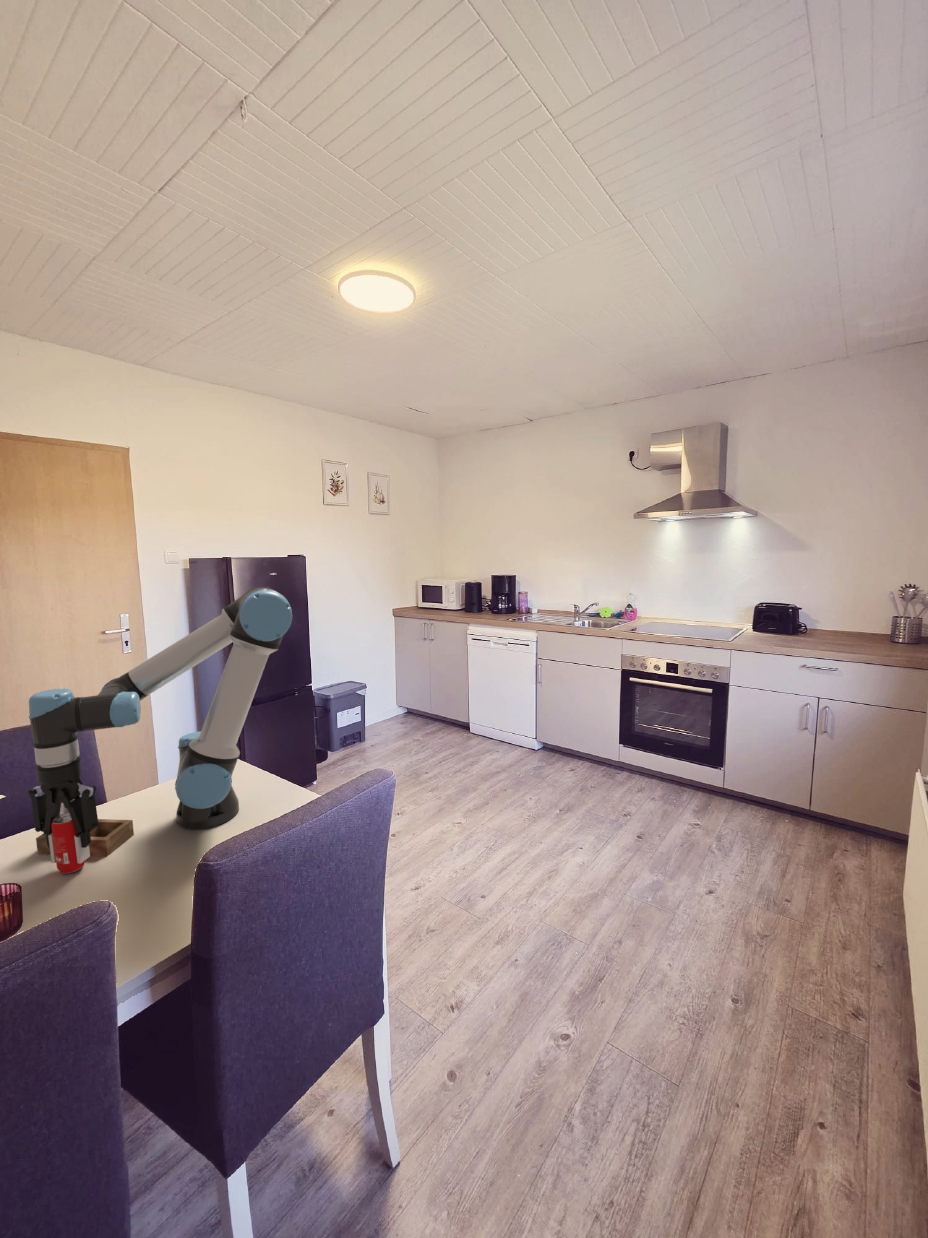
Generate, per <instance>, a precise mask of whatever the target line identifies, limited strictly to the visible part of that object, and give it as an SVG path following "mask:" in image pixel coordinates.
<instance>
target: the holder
mask: <svg viewBox="0 0 928 1238" xmlns="http://www.w3.org/2000/svg"><path fill="white" fill-rule="evenodd" d="M133 822H134V821H133V819H110V818H108V819H104V818H103V819H102V818H98V824H99V825H98V826H97V827H96V828H95V829H93V830H92V831H91V832H90V837H91V844H90V845H89V850H90V857H108V856H110V855H111V854H113V852H115V851H116V850H117V849H118V848H120V847H121V846H122V845H123V844H125V843H126V842H127V841H129V839H130V838H132V837H133V836H135V833H134V823H133ZM35 840H36V841H35V842H36V851H37V855H51V853H50V847H48V846H47V840H46V835H45V834H44V833H43V832H42V833H41V834H40V835H38V836H37V837H35Z"/></svg>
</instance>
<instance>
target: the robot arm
mask: <svg viewBox="0 0 928 1238" xmlns="http://www.w3.org/2000/svg"><path fill="white" fill-rule="evenodd" d="M220 613H221V614H219V615H218V616H216V617H215V618H213V619H212V620H210V621H208V622H206V623H205V624H203V625H202V626H200V627H199V628H197V629H195V630H194V631H192V632H190V633H189V634H187V635H185V636H183V637H182V638H181V639H179V640H177V641H176V642H174V643H172V644H171V645H169V646H168V647H166V648H164V649H163V650H160V651H159V652H158V653H156V654H155V655H153V656H151V657H150V658H148V659H147V660H145V661H143V662H141V663H140V664H138V665H137V666H135V667H133V668H131V669H130V670H128V671H127V672H126V673H124V674H122V675H120V676H119V677H118V676H117V677H116V678H112V679H111V680H109V681H108V682H106V683H105V684H104V685H103V687H102V688H101V691H100V692H99V693H98V694H97V695H96V694H95V695H90V696H81V697H79V696H77V697H75V695H74V693H73V691H72V690H71V689H69V688H51V689H48V690H42V691H39V692H36V693H34V694H32V695H31V696H30V697H29V698H28V710H29V711H28V712H29V716H28V718H29V722H30V728H31V735H32V740H33V741H32V742H33V750H34V759H35V765H37V766H36V773H37V774H36V775H37V781H38V783H39V784H38V785H37V786H34V787H33V788H31V789H29V790H28V795H29V798H30V799H31V806H32V815H33V822H34V823H33V824H34V830H35V832H37V833H39V832H42V834H43V833H44V834H45V835H46V840H47V846H48V847H50V853H51V854H50V859H51V863H52V864H55V863H56V857H55V849H54V842H53V834H52V826H51V825H52V823H53V822H52V821H53V819H54V818H56V817H58V816H59V815H60V808H61V803H63V804H64V807H65V808H67V809H68V811H69V813H70V816H71V818H72V821H73V823H74V826H75V828H76V831H77V833H78V834H76V835H75V836H74V839H75V847H76V855H77V863H82V862H83V861H85V862H86V860H87V859H88V858H90V857H91V856H90V850H89V845H90V844H91V837H90V832H91V831H92V830H93V829H95V828H96V827H97V826H98V825H99V824H98V819H99V818H98V811H97V804H96V795H95V794H96V790H97V787H96V786H95V785H91V786H87V785H84V783H83V781H82V780H81V776H82V771H83V770H82V759H81V758H80V754H81V753H80V746H79V745H80V744H79V739H78V737H79V736H78V733H82V732H89V731H98V730H105V729H112V728H113V729H114V728H124V727H126V726H131V725H136V724H138V723H139V722H140V720H141V712H142V711H141V701H142V700H144V699H145V698H146V697H148V696H149V695H151V694H152V693H155V692H156V691H158V690H159V689H160V688H162V687H164V686H166V685H167V684H169V683H170V682H172V681H173V680H175V679H176V678H178V677H179V676H181V675H183V674H184V673H186V672H187V671H189V670H191V669H192V668H194V667H196V666H197V665H199V664H200V663H202V662H203V661H205V660H207V659H208V658H210V657H211V656H214V655H215V654H216V653H217V652H219V651H221V650H223V649H224V648H226V647H228V646H229V645H230V644H232V643H233V644H232V647H231V650H230V652H229V655H228V658H227V661H226V663H225V666H224V668H223V672H222V674H221V677H220V680H219V682H218V685H217V688H216V690H215V694H214V696H213V698H212V701H211V703H210V704H211V705H210V707H209V709H208V712H207V715H206V718H205V720H204V723H203V725H202V728H201V731H195V732H190V733H187V734H185V735H183V736H181V737H180V738H179V739H178V746H177V749H178V750H179V751H178V752H179V754H178V755H179V763H178V769H177V773H176V780H175V783H174V789H175V792H176V797H177V798H178V800H179V802H178V805H177V809H176V815H175V816H176V817H175V818H176V823H177V825H178V826H179V827H180V828H183V829H186V830H202V829H203V830H204V829H208V828H214V827H217V826H219V825H221V824H224V823H226V822H229V821H230V820H232V819H233V818H234V817H236V815H237V814H238V813H239V810H240V803H239V798H238V797H237V794H236V792H235V789H234V787H233V785H232V783H233V778H232V776H233V773H234V771H235V768H236V766H237V762H238V759H239V757H240V754H241V751H240V749H239V747H238V746H237V743H238V740H239V739H240V738H239V737H240V735H241V732H242V730H243V727H244V725H245V722H246V720H247V716H248V713H249V711H250V708H251V706H252V702H253V700H254V697H255V694H256V692H257V689H258V686H259V683H260V681H261V679H262V676H263V674H264V673H263V672H264V670H265V668H266V664H267V662H268V659H269V657H270V655H271V654H273V653H274V652H275V653H276V652H277V651H279V647H280V646H281V644H282V643H281V642H282V640H283V637H284V635H285V634H287V631H289V628H291V625H292V621H293V609H292V607H291V604H290V602H289V601H288V599H287V598H286V597H285V596H284V595H283V594H282V593H280V592H278V591H276V590H275V589H273V588H271V587H267V586H257V587H253V588H251V589H248V590H247V591H245V592H244V593H243V594H242V595H241V596H239V597H238V598H236V599H235V600H234V601H233V602H231V603H230V604H228V605H227V606H225V607H224V608H222V609H221V612H220ZM73 799H74V800H73ZM70 801H71V802H70Z"/></svg>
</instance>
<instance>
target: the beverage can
mask: <svg viewBox="0 0 928 1238" xmlns="http://www.w3.org/2000/svg"><path fill="white" fill-rule="evenodd" d="M52 822H53V823H52V825H51V826H52V834H53V842H54V849H55V857H56V869H57V870H58V871H59V872H60V874H63V875H66V874H72V873H74V872H77V871H79V870H81V869H83V867H84V866H85V862H86V860H85V861H83V862H82V863H77V855H76V847H75V839H74V836H75V835H76V834H78V833H77V831H76V828H75V826H74V823H73V821H72V818H71V816H70V813H65V814H62V815H60V816H58V817H56V818H54V819H53V821H52Z"/></svg>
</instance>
